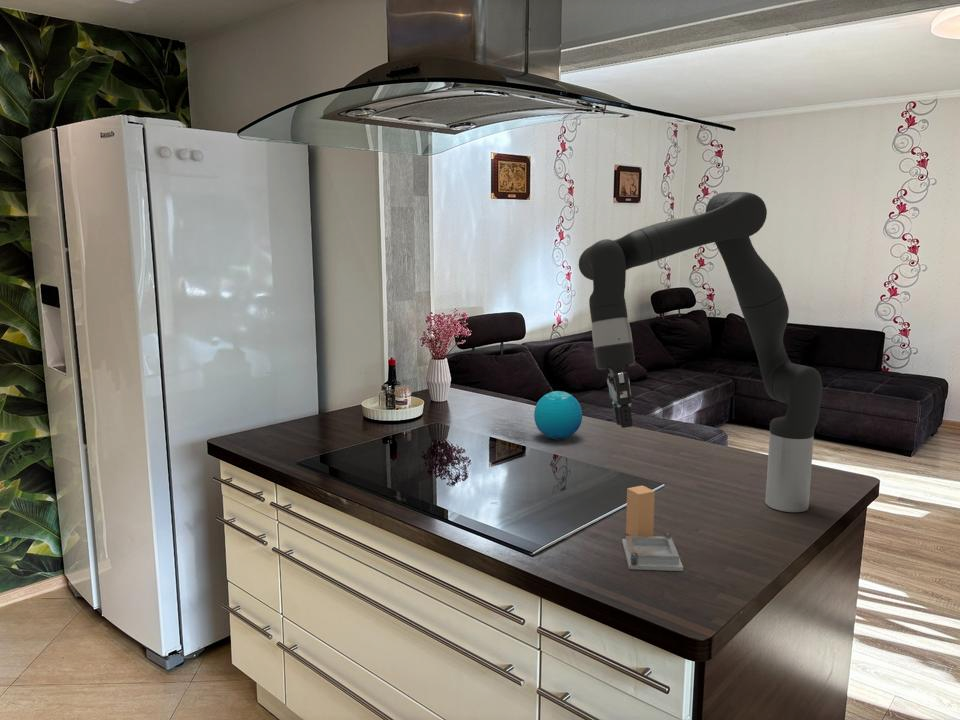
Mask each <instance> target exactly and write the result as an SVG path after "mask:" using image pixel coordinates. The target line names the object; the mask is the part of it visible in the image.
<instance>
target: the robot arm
mask: <svg viewBox="0 0 960 720" xmlns="http://www.w3.org/2000/svg"><path fill="white" fill-rule="evenodd" d="M706 204H707V205H706V207H705V212H702V213H699V214H696V215H691V216H687V217H683V218H676V219H672V220H665V221H662V222H658V223H657V222H656V223H655V224H650V225H648V226H645V227H642V228H639V229H635V230H634V231H631V232H629V233H627V234H625V235H624V236H622V237H620V238H617V239H610V238H609V239H607V238H604V239H600V240H599V241H597V242H595V243H593V244H592V245H590V246H589V247H587V248H585V250H583V252H582V253H581V255H580V257H579V259H578V268H579V271H580V273H581V274H582V276H583V277H584V278H586V279H588V280H590V281H592V285H593V290H592V293H591V294H590V295H589V299H588V302H589V303H588V306H589V313H590V321H591V336H592V344H593V350H594V351H593V352H594V356H595V365H596V368H597V370H609V373H608V374H607V378H606V382H607V387H608V391H609V392H608V393H609V397H610V401H611V404H612V406H613V410H614V417H615V422H616V423H615V424H616V425H618V426H620V427H621V428H623V429H624V428H631V427H633V425H634V424H633V416H632V410H631V407H632V404H633V403H632V402H633V400H632V392H631V386H630V383H631V382H630V376H629V373H628V371H625V367H629V366H630V367H631V366H634V365H636V359H635V358H636V357H635V356H636V355H635V349H634V341H633V336H632V329H631V326H630V322H629V316H628V310H627V303H626V299H625V293H626V292H625V291H626V281H627V280H626V279H627V278H626V276H627V271H629V269H633V268H637V267H640V266H644V265H647V264H650V263H653V262H657V261H659V260H662V259H664V258H668V257H671V256H673V255H674V256H675V255H677V254H680V253H682V252H685V251H689V250H692V249H694V248H697V247H700V246H701V247H702V246H705V245H708V244H712V243H714V244H715V246H716V247H717V251H718V252H719V255H720V256H721V258H722V260H723V262H724V264H725V268H726V270H727V273H728V276H729V279H730V281H731V284H732V288H733V289H734V292H735V295H736V298H737V301H738V304H739V307H740V310H741V312H742V313H741V314H742V316H743V318H744V319H743V320H744V322H745V323H746V325H747V328H748V331H749V334H750V338H751V342H752V344H753V346H754V350H755V352H756V358H757V360H758V365H759V369H760V375H761V378H762V382H763V385H764V388H765V391H766V393H767V394H768V395H767V396H769V397H770V398H771V399H773V400H774V401H776V402H779V403H783V404H787V410H786V414H785V415H784V416H778V417H775V418H773V419H771V420H770V422H769V437H768V438H769V440H768V455H767V456H768V458H767V470H766V471H767V473H766V485H765V486H766V487H765V505H766V506H767V507H769V508H771V509H774V510H777V511H780V512H787V513H802V512H806V511H808V510H809V505H810V504H809V503H810V491H811V481H812V480H811V476H812V466H813V465H812V463H813V453H814V452H813V451H814V438H815V437H814V435H815V429H816V426H817V425H818V422H819V416H820V411H821V410H820V409H821V402H822V395H823V380H822V376H821V373H820V372H819V371H818V369H816V368H815V367H811V366H809V365H802V364H799V363H798V364H797V363H793V362H791V360H790V359H789V357H788V354H787V351H786V348H785V344H784V334H785V332H786V331H785V330H786V329H787V326H788V321H789V317H790V316H789V315H790V309H789V304H788V302H787V298H786V296H785V293H784V290H783V287H782V283H781V282H780V281H779V279H778V277H777V276H776V275H775V273H774V272H773V270H772V269H771V268H770V267H769V265H767V264H766V262H765V261H764V260H763V259H762V258H761V256H760V255H759V254H758V252H757V251H756V249H755V247H754V245H753V243H752V240H751V238H750V237H751V236H753V235H755V234H757V233H758V232H759V231H760V230H761V229H762V228H763V227H764V225H765V223H766V219H767V214H768V209H767V205H766V203H765V201H764V200H763V199H762V197H760V196H759V195H757V194H755V193H752V192H746V191H730V192H728V191H727V192H725V191H724V192H720V193H717V194H714V195H713V196H712V197H711V198H710V199H709V200H708V202H707V203H706Z"/></svg>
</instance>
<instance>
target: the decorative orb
mask: <svg viewBox="0 0 960 720" xmlns="http://www.w3.org/2000/svg"><path fill="white" fill-rule="evenodd" d="M533 416H534V417H533V419H534V423H535V426H536V428H537V430H539V432H540V433H542V434H543V436H545V437H547V438H550V439H552V440H564V439H565V440H566V439H567V438H570V437H572V436H574V434H575V433H576V432H577V431H578V430H579V429H580V427H581V425H582V422H583V411H582V407H581V404H580V402H579V401H578V399H577V398H576V397H574V395H572V394H570V393H569V392H566V391H561V390H555V391H554V390H553V391H550V392H548V393H545V394H544V395H543V396H542V397H541V398H539V400H538V401H537V403H536V405H535V406H534V412H533Z"/></svg>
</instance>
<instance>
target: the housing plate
mask: <svg viewBox="0 0 960 720" xmlns="http://www.w3.org/2000/svg"><path fill="white" fill-rule="evenodd" d="M621 540H622V541H621V542H622V547H623V551H624V556H625V560H626V562H627V563H626V564H627V567H628V570H631V571H632V570H636V571H638V570H639V571H663V572H664V571H665V572H666V571H667V572H672V571H673V572H683V571H684V566H683V563H682V561H681V558H680V555H679V553H678V550H677V548H676V545H675V543H674V540H673V538H672V533H670V532H665V533H664V536H661V535H660V536H657V535H655V536H654V535H653V536H630V535H625V538H622V539H621Z"/></svg>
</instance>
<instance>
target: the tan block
mask: <svg viewBox="0 0 960 720" xmlns="http://www.w3.org/2000/svg"><path fill="white" fill-rule="evenodd" d="M655 492H656V491H655V490H654V489H651V488H649V487H647V486H644V485H637V486H633V487H628V488H626V518H625V522H626V524H625V534H626V535H627V536H654V530H655V529H654V524H655V499H656V498H655V495H656V494H655Z"/></svg>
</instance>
